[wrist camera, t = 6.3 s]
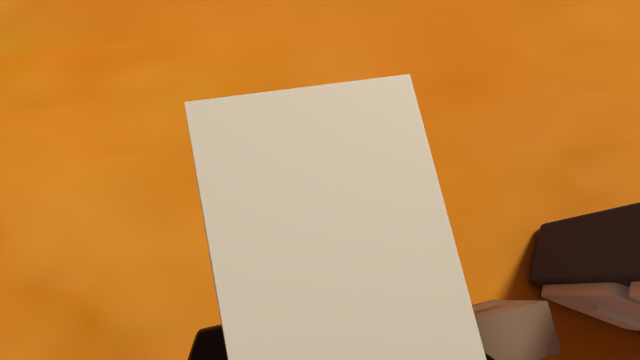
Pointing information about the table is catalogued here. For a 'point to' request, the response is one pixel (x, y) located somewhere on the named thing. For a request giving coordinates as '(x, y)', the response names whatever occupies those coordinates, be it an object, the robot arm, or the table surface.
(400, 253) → the notched plate
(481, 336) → the slotted beam
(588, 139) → the table surface
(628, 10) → the table surface
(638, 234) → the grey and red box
